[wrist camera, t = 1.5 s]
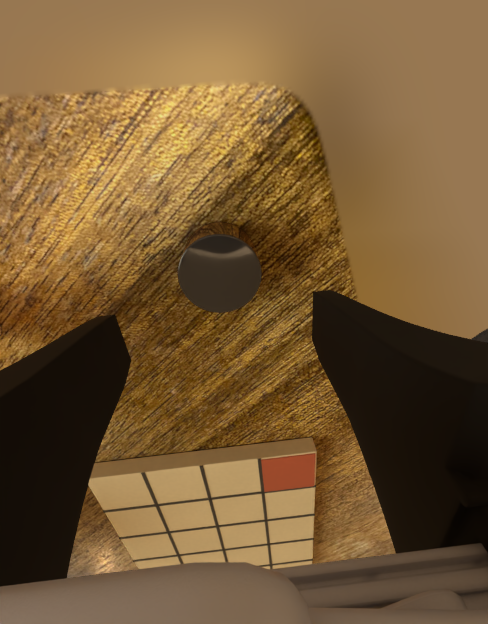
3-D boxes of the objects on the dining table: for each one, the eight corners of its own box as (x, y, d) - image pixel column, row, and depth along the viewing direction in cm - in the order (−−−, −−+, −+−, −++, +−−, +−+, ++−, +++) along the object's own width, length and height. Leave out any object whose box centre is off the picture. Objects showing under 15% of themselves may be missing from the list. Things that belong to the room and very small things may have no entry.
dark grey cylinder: (253, 217, 17) (258, 229, 14) (258, 287, 19) (264, 308, 16) (177, 225, 17) (169, 239, 14) (191, 294, 19) (186, 317, 16)
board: (312, 436, 26) (317, 452, 25) (308, 563, 38) (312, 578, 37) (91, 463, 26) (83, 480, 25) (157, 581, 38) (155, 598, 37)
